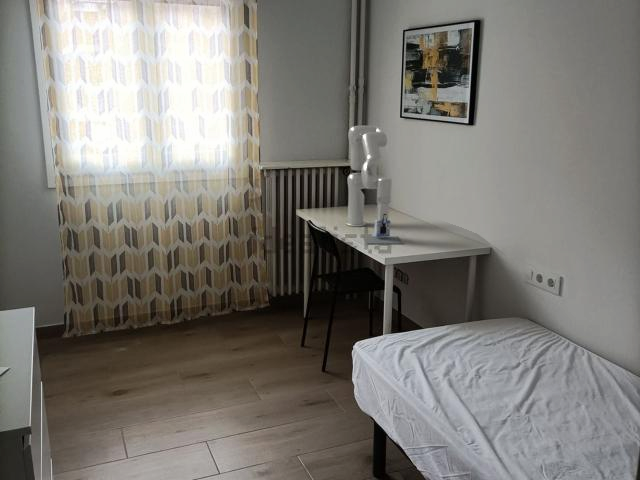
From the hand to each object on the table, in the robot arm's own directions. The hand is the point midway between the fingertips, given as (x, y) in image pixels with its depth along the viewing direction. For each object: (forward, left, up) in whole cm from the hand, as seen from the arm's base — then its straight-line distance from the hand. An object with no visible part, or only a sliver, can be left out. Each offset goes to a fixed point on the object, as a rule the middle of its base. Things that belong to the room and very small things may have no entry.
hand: (382, 232), depth 334 cm
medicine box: (0, 0, -2) cm, 2 cm away
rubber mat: (+4, 0, -4) cm, 6 cm away
